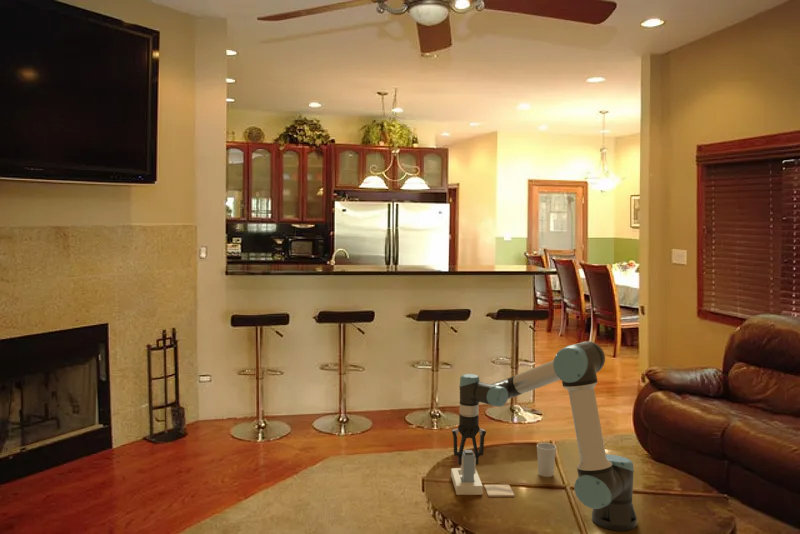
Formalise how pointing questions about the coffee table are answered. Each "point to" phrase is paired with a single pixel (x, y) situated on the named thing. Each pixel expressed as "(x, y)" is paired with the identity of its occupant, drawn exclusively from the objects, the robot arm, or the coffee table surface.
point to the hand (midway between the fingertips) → (468, 472)
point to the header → (466, 483)
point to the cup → (546, 459)
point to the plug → (468, 466)
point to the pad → (499, 491)
